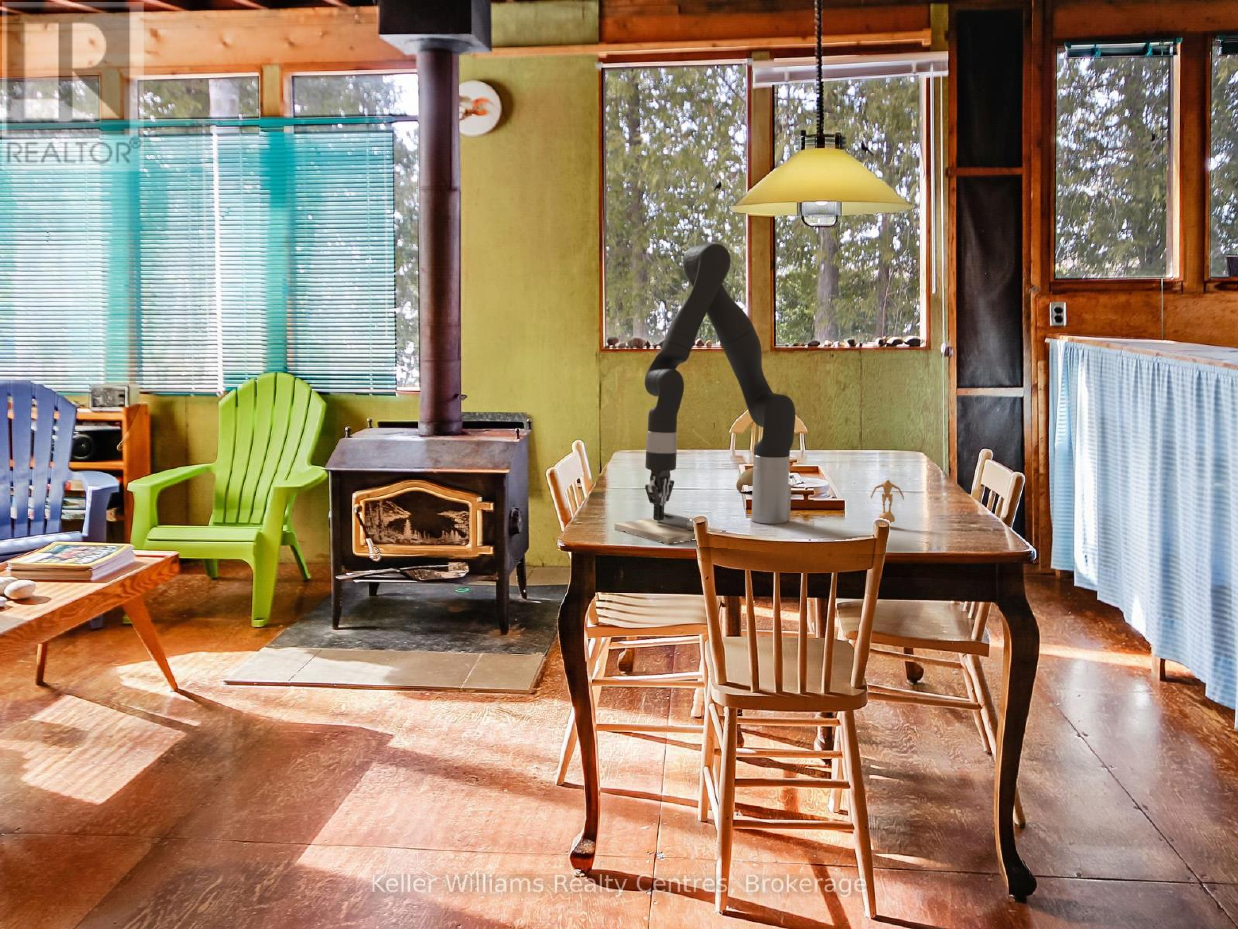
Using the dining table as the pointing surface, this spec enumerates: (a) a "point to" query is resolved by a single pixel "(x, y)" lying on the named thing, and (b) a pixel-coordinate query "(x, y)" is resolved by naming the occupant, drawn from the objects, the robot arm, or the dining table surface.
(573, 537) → the dining table surface
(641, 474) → the dining table surface
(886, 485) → the figurine
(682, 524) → the leg
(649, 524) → the hole board
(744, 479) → the bread roll
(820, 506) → the dining table surface
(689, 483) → the dining table surface
